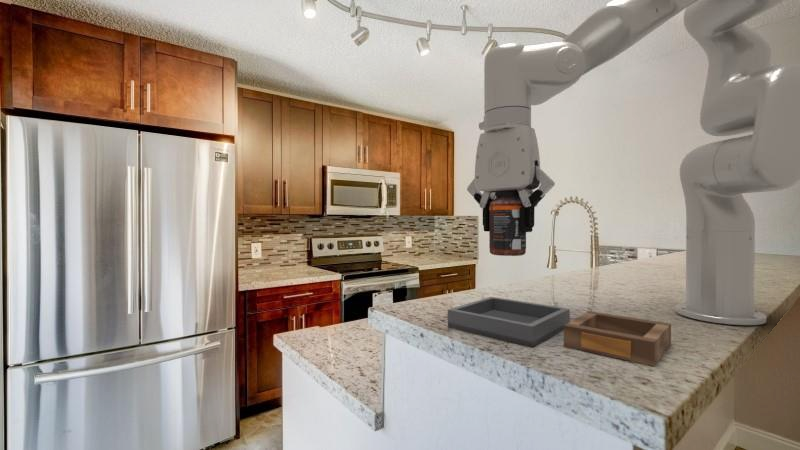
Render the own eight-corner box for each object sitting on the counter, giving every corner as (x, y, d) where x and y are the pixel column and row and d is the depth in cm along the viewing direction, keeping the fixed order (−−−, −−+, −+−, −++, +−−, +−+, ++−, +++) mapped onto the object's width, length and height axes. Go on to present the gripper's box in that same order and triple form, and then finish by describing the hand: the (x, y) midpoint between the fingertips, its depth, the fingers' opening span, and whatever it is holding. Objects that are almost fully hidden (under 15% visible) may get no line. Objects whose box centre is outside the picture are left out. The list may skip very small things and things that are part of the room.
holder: (589, 329, 63) (589, 311, 63) (671, 344, 55) (671, 323, 55) (562, 346, 54) (562, 325, 54) (653, 367, 47) (653, 342, 47)
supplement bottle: (528, 256, 61) (528, 185, 60) (489, 256, 62) (489, 186, 62) (523, 253, 67) (523, 188, 66) (488, 252, 68) (488, 189, 68)
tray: (491, 311, 75) (491, 296, 75) (569, 326, 64) (569, 308, 64) (447, 327, 65) (447, 309, 65) (532, 347, 54) (532, 326, 54)
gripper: (452, 128, 67) (452, 231, 68) (549, 109, 55) (549, 233, 55) (475, 135, 73) (476, 230, 73) (568, 118, 61) (568, 232, 61)
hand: (507, 230), depth 64 cm, fingers closed on supplement bottle, 6 cm apart
